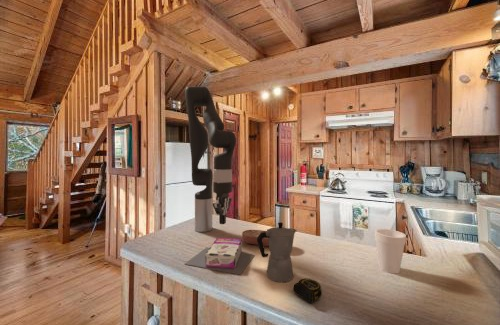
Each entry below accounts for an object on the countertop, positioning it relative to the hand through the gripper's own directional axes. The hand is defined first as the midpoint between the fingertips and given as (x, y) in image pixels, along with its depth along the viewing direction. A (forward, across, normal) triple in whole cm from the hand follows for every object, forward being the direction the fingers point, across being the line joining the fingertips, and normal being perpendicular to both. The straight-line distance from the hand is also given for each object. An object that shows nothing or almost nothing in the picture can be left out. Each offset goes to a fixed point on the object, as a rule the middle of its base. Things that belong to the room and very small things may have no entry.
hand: (222, 223), depth 91 cm
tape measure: (+14, +16, +35) cm, 41 cm away
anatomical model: (+14, -17, +14) cm, 26 cm away
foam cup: (+13, -10, +61) cm, 63 cm away
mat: (+13, +3, +1) cm, 14 cm away
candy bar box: (+10, -6, 0) cm, 12 cm away
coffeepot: (+13, +8, +24) cm, 28 cm away
